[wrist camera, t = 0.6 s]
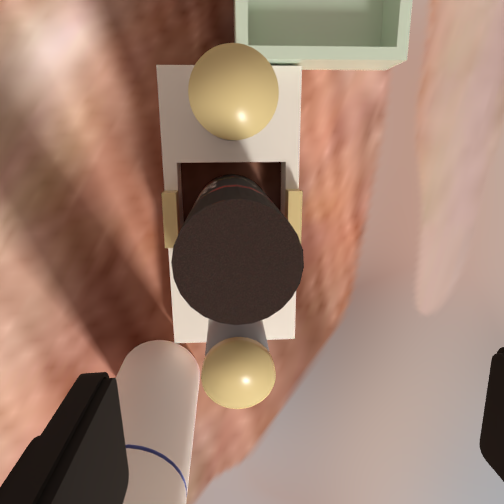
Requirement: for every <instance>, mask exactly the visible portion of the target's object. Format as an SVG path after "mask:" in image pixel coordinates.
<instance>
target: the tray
mask: <svg viewBox="0 0 504 504" xmlns="http://www.w3.org/2000/svg"><path fill="white" fill-rule="evenodd" d="M411 11H412V0H234V43H240V44H244V45H247V46H250V47H252V48H254V49H256V50H257V51H258V52H260V53H261V54H262V55H263V56H264V57H265V58H266V59H267V60H268V61H269V63H270V64H271V66H302V70H387V69H389V68H392V67H394V66H396V65H398V64H400V63H402V62H404V61H406V60H407V54H408V44H409V33H410V22H411Z"/></svg>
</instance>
